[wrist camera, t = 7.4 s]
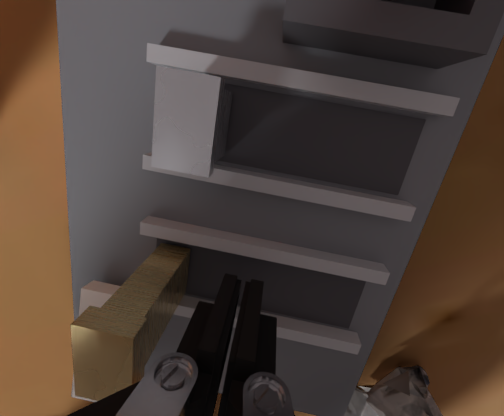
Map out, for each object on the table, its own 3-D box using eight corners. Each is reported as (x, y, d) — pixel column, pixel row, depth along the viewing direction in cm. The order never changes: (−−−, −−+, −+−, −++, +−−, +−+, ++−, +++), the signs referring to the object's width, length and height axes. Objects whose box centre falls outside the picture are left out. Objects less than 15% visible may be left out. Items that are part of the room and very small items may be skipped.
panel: (333, 381, 18) (351, 475, 13) (102, 329, 19) (42, 401, 14) (509, -85, 10) (708, -259, 5) (95, -146, 11) (-50, -348, 6)
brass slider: (189, 295, 14) (131, 408, 8) (154, 287, 14) (75, 395, 8) (195, 246, 13) (133, 338, 7) (157, 238, 13) (70, 324, 8)
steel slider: (228, 161, 11) (208, 177, 8) (186, 152, 11) (151, 166, 8) (238, 88, 10) (221, 77, 7) (192, 80, 10) (155, 65, 7)
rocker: (118, 391, 15) (108, 405, 14) (83, 382, 15) (71, 396, 14) (131, 288, 14) (121, 297, 13) (93, 280, 14) (81, 288, 13)
